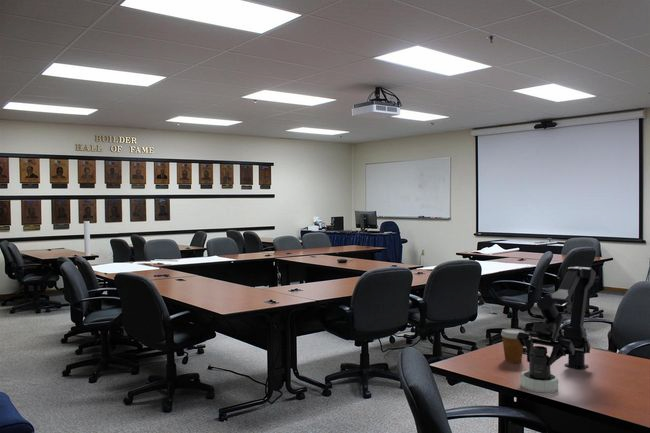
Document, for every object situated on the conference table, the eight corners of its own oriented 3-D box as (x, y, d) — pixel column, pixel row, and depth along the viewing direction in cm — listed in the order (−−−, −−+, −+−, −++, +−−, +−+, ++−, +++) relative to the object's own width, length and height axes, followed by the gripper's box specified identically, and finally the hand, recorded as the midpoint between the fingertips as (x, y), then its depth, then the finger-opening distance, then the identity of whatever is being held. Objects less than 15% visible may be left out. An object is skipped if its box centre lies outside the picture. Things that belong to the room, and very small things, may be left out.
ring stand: (533, 378, 193) (533, 368, 193) (565, 387, 183) (565, 376, 183) (513, 385, 186) (513, 374, 186) (546, 395, 176) (546, 383, 176)
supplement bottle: (555, 382, 183) (554, 348, 183) (541, 386, 180) (541, 351, 180) (538, 377, 189) (538, 343, 189) (525, 380, 186) (524, 346, 186)
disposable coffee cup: (495, 358, 219) (495, 329, 219) (514, 356, 222) (514, 327, 222) (511, 364, 210) (511, 334, 210) (530, 362, 214) (530, 332, 213)
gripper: (518, 309, 194) (504, 345, 186) (571, 316, 180) (558, 356, 173) (528, 327, 199) (515, 363, 192) (580, 335, 186) (568, 374, 178)
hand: (537, 363), depth 184 cm, fingers closed on supplement bottle, 7 cm apart
